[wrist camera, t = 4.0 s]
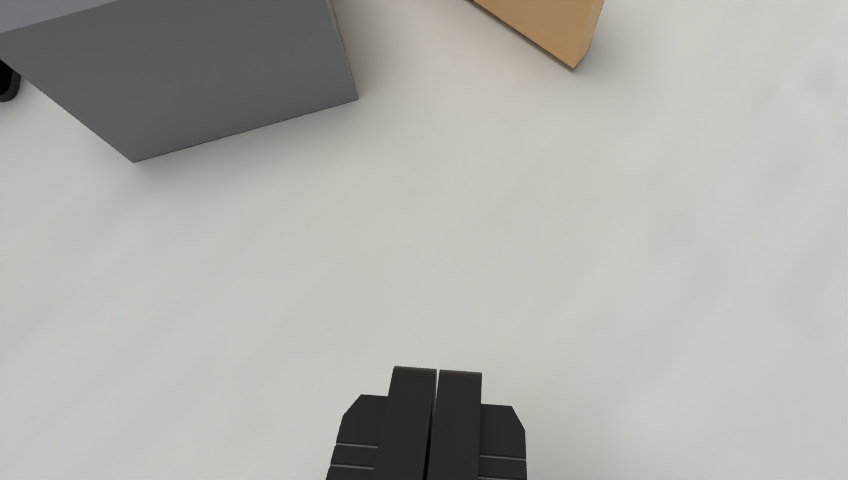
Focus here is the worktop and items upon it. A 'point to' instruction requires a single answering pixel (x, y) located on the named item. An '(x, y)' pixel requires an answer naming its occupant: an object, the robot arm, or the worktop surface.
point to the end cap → (8, 82)
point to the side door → (552, 23)
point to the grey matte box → (178, 65)
